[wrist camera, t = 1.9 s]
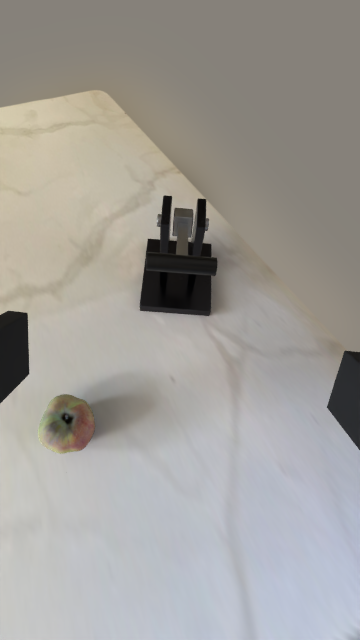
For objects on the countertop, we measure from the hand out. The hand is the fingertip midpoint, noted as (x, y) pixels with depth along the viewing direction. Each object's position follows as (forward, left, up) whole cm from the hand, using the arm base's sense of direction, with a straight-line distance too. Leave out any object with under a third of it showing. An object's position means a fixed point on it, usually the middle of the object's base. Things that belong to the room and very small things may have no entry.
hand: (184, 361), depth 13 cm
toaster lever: (0, -18, -15) cm, 23 cm away
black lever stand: (0, -23, -28) cm, 36 cm away
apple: (+11, 0, -28) cm, 30 cm away
